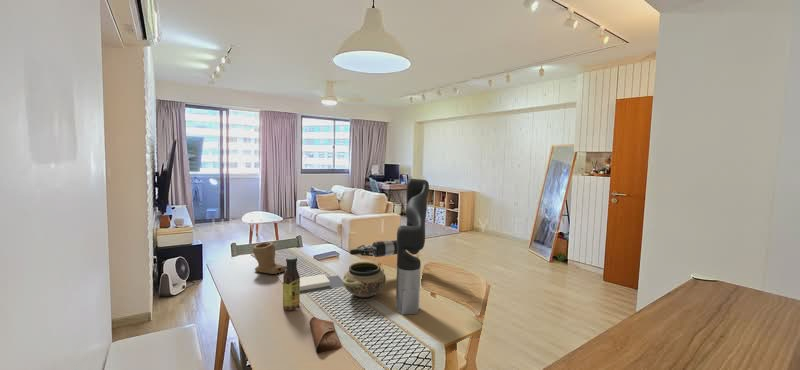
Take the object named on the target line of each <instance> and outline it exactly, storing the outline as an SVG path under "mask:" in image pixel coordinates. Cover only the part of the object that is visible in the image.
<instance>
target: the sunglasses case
mask: <svg viewBox="0 0 800 370" xmlns="http://www.w3.org/2000/svg"><path fill="white" fill-rule="evenodd" d="M309 327H310V331H311V334H312V339H313V343H314V347H315V351H316V353H317V354H318V355H319V354H323V353H328V352H333V351H337V350H341V349H343V345H342V343H341V341H340V338H339V336H338V333H337V331H336V330H337V329H336V327H335V323H334V321H331V320H330V321H329V320H326V319H321V318H318V317H316V316H313V317H311V318H310V320H309Z"/></svg>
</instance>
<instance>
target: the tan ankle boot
mask: <svg viewBox="0 0 800 370" xmlns="http://www.w3.org/2000/svg"><path fill="white" fill-rule="evenodd" d="M252 251H253V256H254V258H255V259H256V261H257V264H258V266H256V267H255V268H254V270H255V272H258V273H265V274H271V275H272V274H273V275H274V274H275V275H278V274H277V273H279V274H281V273H280V272H282V273H283V272H286V270H287V269H286V268H287V265H282V264H278V263H276V262H275V260H276V259H275V258H276V246H275V244H274V242H272V241H269V242H265V241H264V242H260V243H257V244H255V245H254V246H253V248H252Z"/></svg>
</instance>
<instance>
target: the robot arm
mask: <svg viewBox="0 0 800 370" xmlns="http://www.w3.org/2000/svg"><path fill="white" fill-rule="evenodd" d="M407 180H408V181H407V183H406V206H405V213H404V214H405V217H406V225H400V226H398V228H397V232H396V240H395V239H394V240H379V241H375V242H373V243H372V245H370V244H369V245H365V244H362V245H360V246H357V247H356V248H354V249H350V250H349V254H350V255H351V256H353V255H359V256H363V257H365V256H366V257H373V256H374V257H375V258H381V257H388V256H393V255H396V280H395V281H396V287H395V288H396V289H395V290H396V291H395V297H396V298H395V310H396V311H397V312H399V313H400V314H401V315H415V314H416V315H417V314H418V312H419V311H420V298H421V297H420V292H421V290H420V288H421V266H422V265H421V260H420V259H419V257H416V256H415V255H417V254H418V253H420V251H422V250H423V248H424V247H425V243H426V220H427V219H426V218H427V211H428V210H427V209H428V207H427V205H428V196H429V191H430V184H429V181H427V180H426V179H420V178H409V179H407Z"/></svg>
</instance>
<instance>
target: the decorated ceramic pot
mask: <svg viewBox="0 0 800 370" xmlns="http://www.w3.org/2000/svg"><path fill="white" fill-rule="evenodd" d="M384 272H385V269H384V268H383V267H382V266H380V264H378V263H375V262H370V261H369V262H368V261H365V262H364V261H362V262H361V261H359V262H356V263H352V264H351V265H350V266H349V268H348V271H347V272H346V273H345V274H344V275H343V279H342V280H343V284H344V285H345V286H344V287H345V289H346V290H347V291H348V292H349V293H350V294H352V295H353V298H354V299H356V300H358V301H370V300H372V299H374V298H376V295H377V294H379V292H381V290H382V289H383V288H384V286H385V285H386V280H387V279H386V274H385V273H384Z"/></svg>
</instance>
